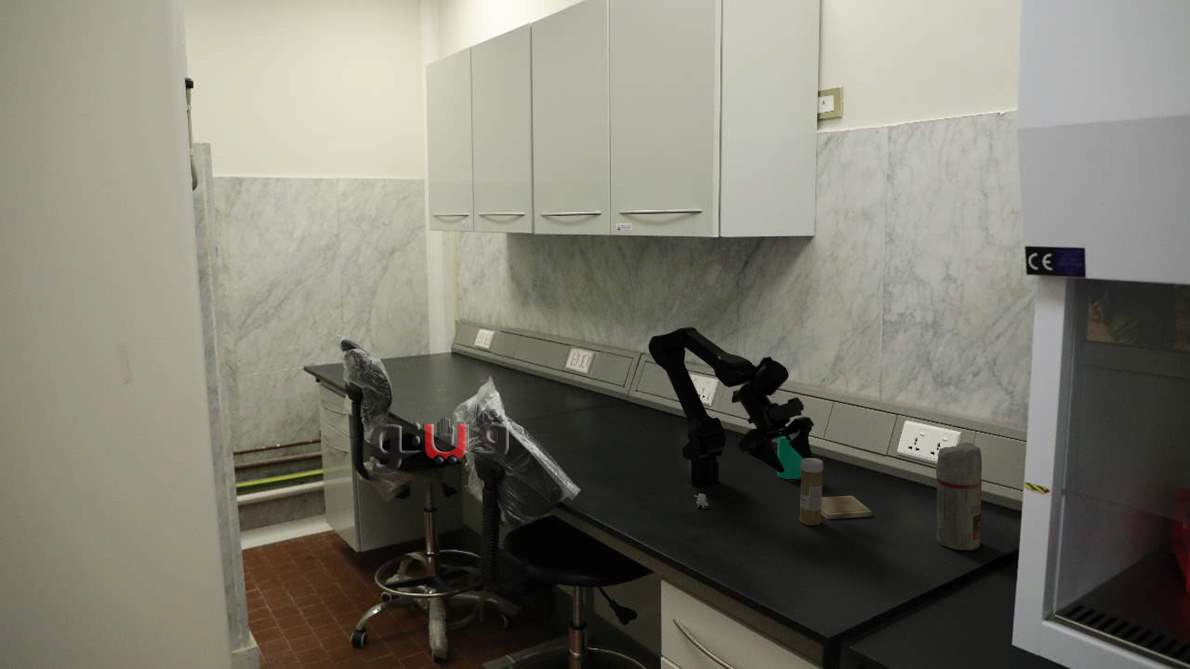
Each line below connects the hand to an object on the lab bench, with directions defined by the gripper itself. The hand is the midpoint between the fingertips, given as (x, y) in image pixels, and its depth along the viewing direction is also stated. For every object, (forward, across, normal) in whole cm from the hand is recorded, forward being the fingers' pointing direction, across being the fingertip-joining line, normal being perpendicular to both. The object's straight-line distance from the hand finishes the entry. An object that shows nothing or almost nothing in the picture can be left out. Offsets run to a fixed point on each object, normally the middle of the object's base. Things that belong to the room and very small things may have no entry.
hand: (797, 467), depth 171 cm
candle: (-6, +19, +21) cm, 29 cm away
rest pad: (+10, +11, +6) cm, 16 cm away
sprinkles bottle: (+10, 0, +5) cm, 12 cm away
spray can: (+28, +14, -12) cm, 33 cm away
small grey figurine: (-4, -13, +20) cm, 24 cm away
